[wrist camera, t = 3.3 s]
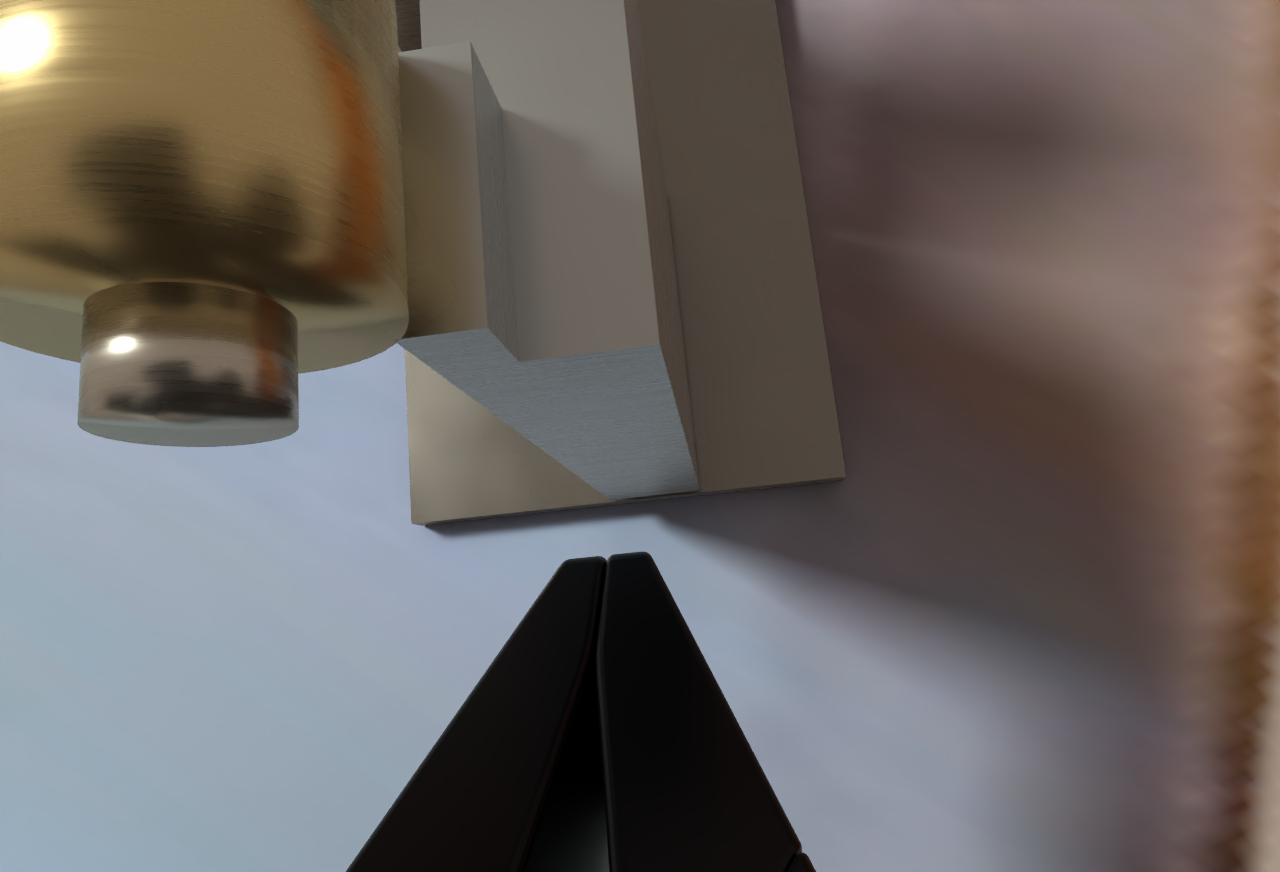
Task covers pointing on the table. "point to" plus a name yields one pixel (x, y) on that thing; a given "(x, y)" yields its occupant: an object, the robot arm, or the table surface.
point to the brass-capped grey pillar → (345, 217)
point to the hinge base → (681, 289)
